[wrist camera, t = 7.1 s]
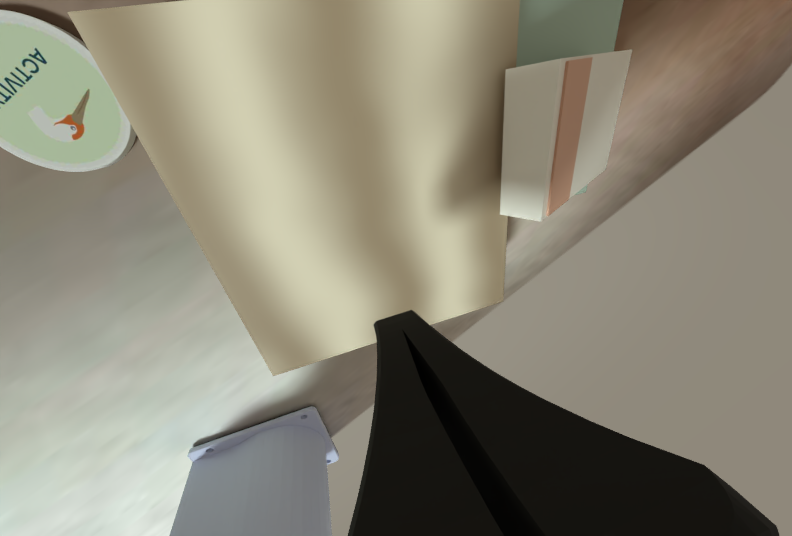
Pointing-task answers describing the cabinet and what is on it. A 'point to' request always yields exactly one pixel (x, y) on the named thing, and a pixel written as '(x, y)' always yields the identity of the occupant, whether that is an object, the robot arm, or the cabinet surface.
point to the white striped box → (558, 129)
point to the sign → (56, 99)
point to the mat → (566, 30)
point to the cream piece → (325, 153)
